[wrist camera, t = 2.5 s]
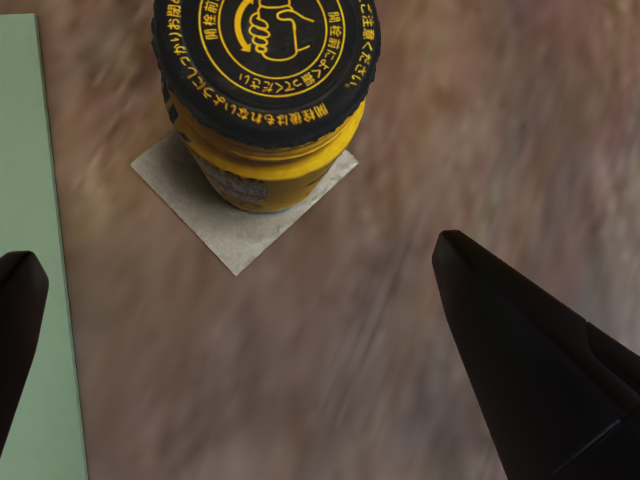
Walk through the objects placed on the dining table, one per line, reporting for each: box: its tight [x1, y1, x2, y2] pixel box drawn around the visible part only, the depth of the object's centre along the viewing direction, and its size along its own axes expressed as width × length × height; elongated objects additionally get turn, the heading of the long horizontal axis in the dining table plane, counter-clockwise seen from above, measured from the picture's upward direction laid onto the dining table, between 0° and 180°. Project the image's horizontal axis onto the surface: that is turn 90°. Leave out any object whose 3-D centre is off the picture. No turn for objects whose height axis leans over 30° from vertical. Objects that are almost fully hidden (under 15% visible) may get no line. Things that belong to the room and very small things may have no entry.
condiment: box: [130, 0, 381, 276], centre depth 15 cm, size 7×8×12 cm
